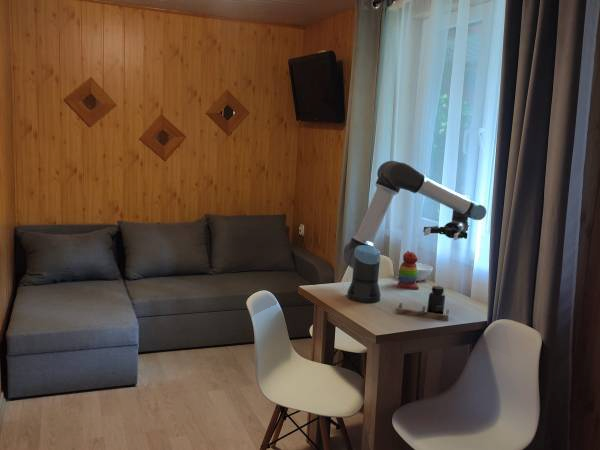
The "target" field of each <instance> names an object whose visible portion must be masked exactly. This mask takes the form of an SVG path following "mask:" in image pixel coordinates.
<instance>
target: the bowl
mask: <svg viewBox="0 0 600 450" xmlns="http://www.w3.org/2000/svg"><path fill="white" fill-rule="evenodd" d="M415 264H416V267H417V279H416V281H417V282H421V281H422V280H423V281H424V280H425V279H426V278H427V277H428V276H429V275H430V274H431V273H432V272H433V270H434V268H433V266H431V265H429V264H424V263H419V262H416V263H415ZM423 281H422V282H423Z"/></svg>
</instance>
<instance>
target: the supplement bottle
mask: <svg viewBox="0 0 600 450" xmlns="http://www.w3.org/2000/svg"><path fill="white" fill-rule="evenodd" d="M444 290H445V287H443V286H439V285H433V286H432V288H431V292H430V293H429V294H428V298H427V299H428V301H427V309H426V311H427V312H430V313H437V314H443V313H445V312H444V310H445V302H446V295H445V294H444V292H445V291H444Z"/></svg>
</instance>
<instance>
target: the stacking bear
mask: <svg viewBox="0 0 600 450" xmlns="http://www.w3.org/2000/svg"><path fill="white" fill-rule="evenodd" d="M402 258H403V262H402V263H401V264H400V266H399V269H398V276H397V277H398V282H397V286H398V287H399V288H402V289H408V290H414V291H415V290H419V289H420V287H419V285H417V282H416V279H417V267H416V264H415V263H418V260H419V257H417V255H416V253H415V252H413V251H410V250H407V251H406V252H404V254H403V255H402Z"/></svg>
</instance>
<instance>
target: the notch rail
mask: <svg viewBox="0 0 600 450" xmlns="http://www.w3.org/2000/svg"><path fill="white" fill-rule="evenodd" d="M396 313H397V315H398V314H399V315H405V316H413V317H419V318H427V319H435V320H439V321H440V320H442V321H449V314H450V309H446V311H445V312H443V314H437V313H430V312H427V310H426V306H424V305H423V306H422V308H421V310H416V309H407V308H403V303H402V302H400V303H398V307H397V312H396Z"/></svg>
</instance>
